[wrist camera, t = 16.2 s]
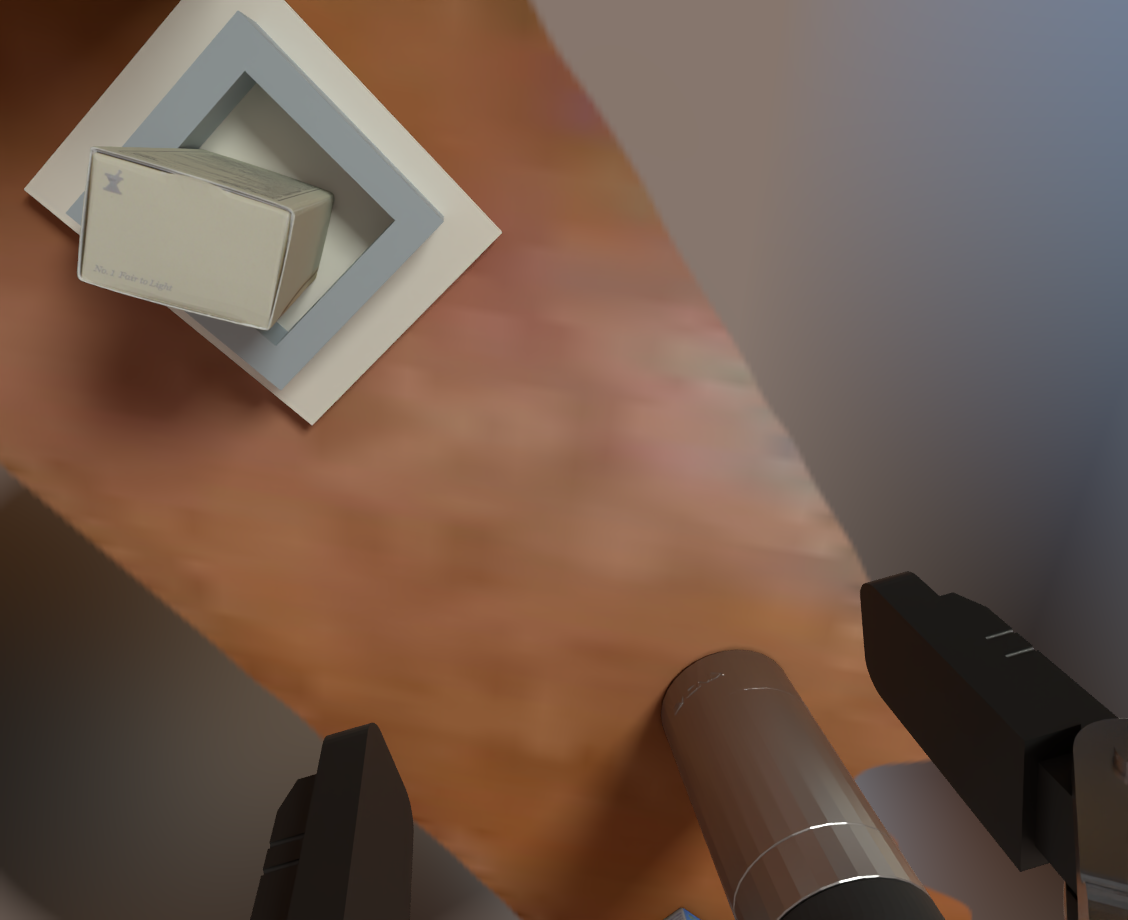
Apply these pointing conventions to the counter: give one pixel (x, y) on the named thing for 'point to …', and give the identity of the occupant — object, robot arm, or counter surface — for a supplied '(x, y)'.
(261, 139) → the collar block
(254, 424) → the counter surface
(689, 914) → the medicine box
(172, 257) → the skincare box
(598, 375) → the counter surface
